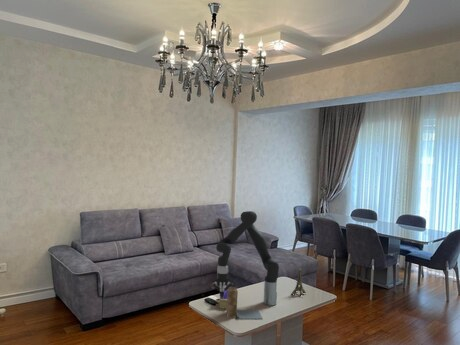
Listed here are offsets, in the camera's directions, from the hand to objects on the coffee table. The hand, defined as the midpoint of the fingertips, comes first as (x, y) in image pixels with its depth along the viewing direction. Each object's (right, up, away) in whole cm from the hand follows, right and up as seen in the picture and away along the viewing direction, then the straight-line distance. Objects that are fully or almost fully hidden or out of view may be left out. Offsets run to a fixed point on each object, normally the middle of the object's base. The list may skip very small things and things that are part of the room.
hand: (221, 296), depth 238 cm
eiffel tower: (+63, -15, +46) cm, 79 cm away
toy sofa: (+4, -13, +21) cm, 25 cm away
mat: (+18, -14, +2) cm, 23 cm away
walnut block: (+7, -13, +1) cm, 15 cm away
